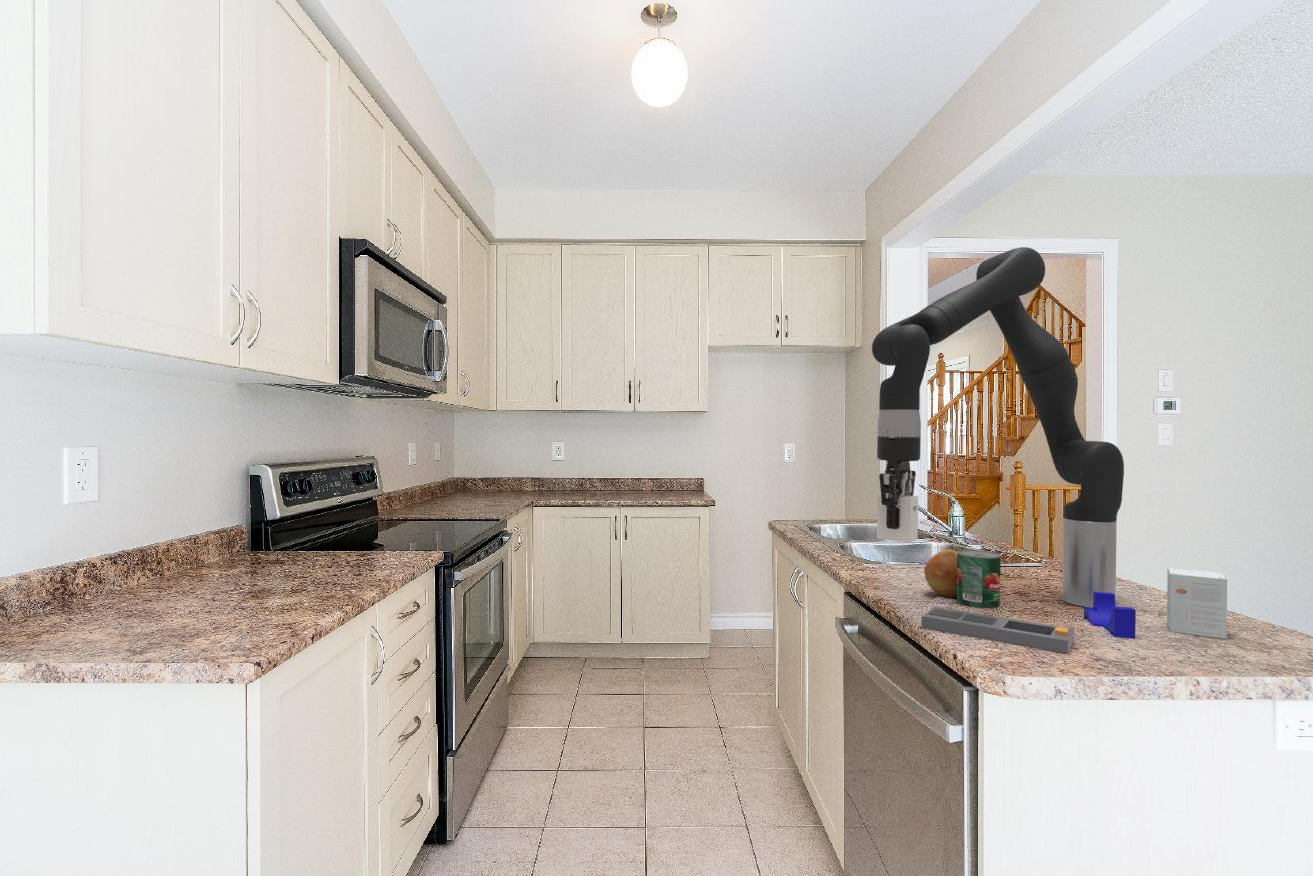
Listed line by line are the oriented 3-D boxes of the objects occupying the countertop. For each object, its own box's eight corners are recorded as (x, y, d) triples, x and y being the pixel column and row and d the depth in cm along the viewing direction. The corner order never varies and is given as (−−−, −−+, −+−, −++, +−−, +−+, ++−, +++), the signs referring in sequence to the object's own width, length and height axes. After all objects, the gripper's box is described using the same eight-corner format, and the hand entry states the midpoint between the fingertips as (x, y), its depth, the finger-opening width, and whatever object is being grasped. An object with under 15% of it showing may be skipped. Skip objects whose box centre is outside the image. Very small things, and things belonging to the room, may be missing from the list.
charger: (885, 535, 128) (885, 493, 128) (918, 539, 125) (918, 496, 125) (877, 538, 125) (877, 495, 125) (910, 542, 121) (911, 498, 121)
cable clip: (1083, 623, 125) (1084, 591, 125) (1111, 625, 124) (1112, 593, 123) (1103, 643, 114) (1104, 607, 113) (1135, 645, 112) (1135, 610, 112)
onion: (922, 589, 150) (923, 544, 149) (971, 593, 147) (972, 547, 146) (925, 600, 140) (926, 552, 140) (978, 604, 137) (978, 555, 137)
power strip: (934, 622, 124) (934, 603, 124) (1074, 646, 111) (1074, 625, 111) (921, 633, 118) (921, 612, 118) (1067, 660, 104) (1068, 637, 104)
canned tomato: (954, 601, 139) (955, 548, 139) (996, 604, 137) (997, 550, 137) (959, 611, 132) (959, 555, 132) (1003, 615, 129) (1004, 558, 129)
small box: (1222, 631, 119) (1223, 572, 119) (1227, 640, 115) (1228, 578, 114) (1166, 624, 124) (1167, 567, 124) (1168, 632, 119) (1169, 572, 119)
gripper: (890, 434, 132) (889, 521, 133) (865, 434, 121) (863, 529, 121) (930, 434, 128) (929, 524, 128) (907, 435, 117) (906, 533, 117)
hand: (897, 526), depth 125 cm, fingers closed on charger, 4 cm apart
